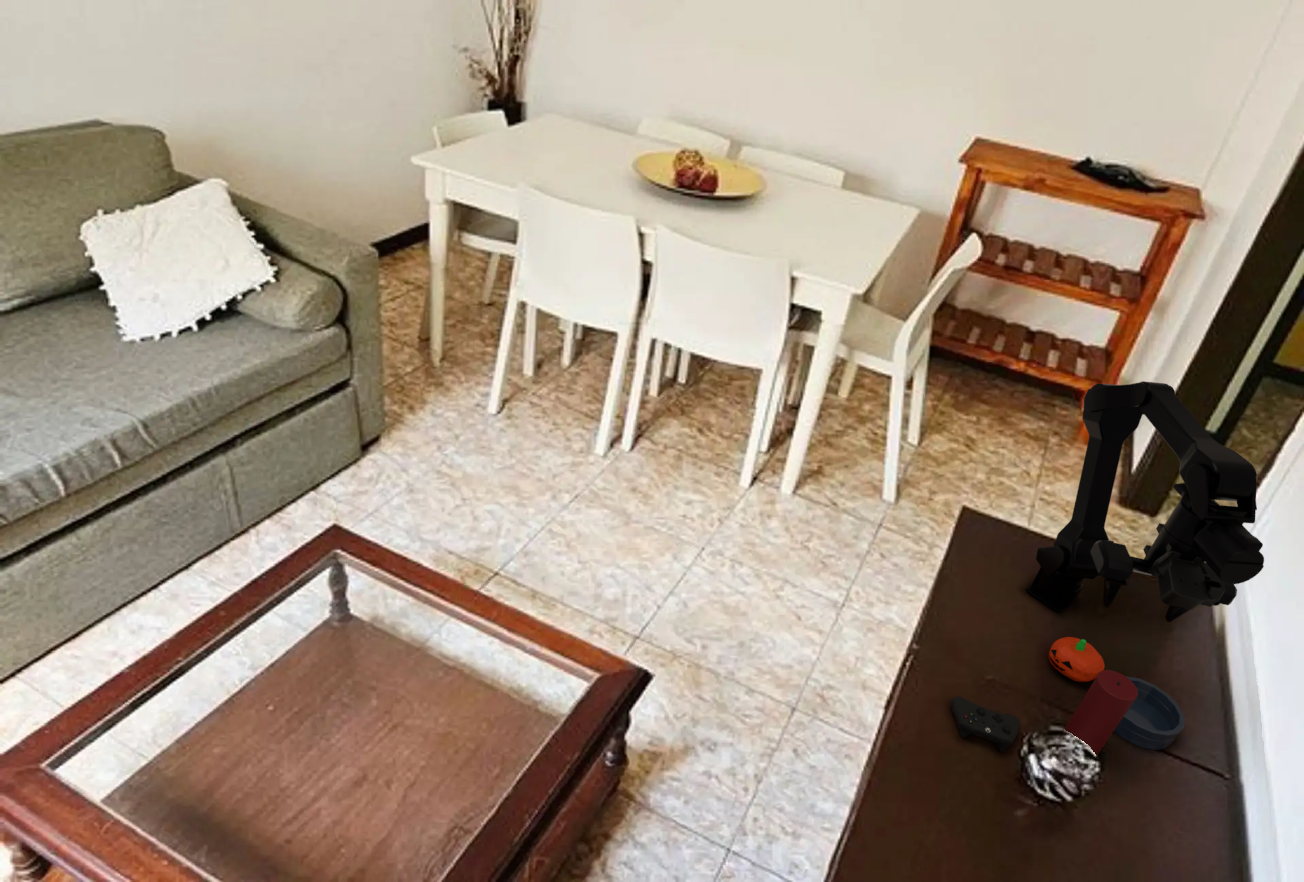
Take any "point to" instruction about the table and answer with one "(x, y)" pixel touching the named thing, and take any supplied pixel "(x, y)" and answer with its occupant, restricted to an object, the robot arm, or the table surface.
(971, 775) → the table surface
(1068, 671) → the pumpkin
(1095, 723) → the candle
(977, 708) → the gaming controller
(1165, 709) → the blue round dish
